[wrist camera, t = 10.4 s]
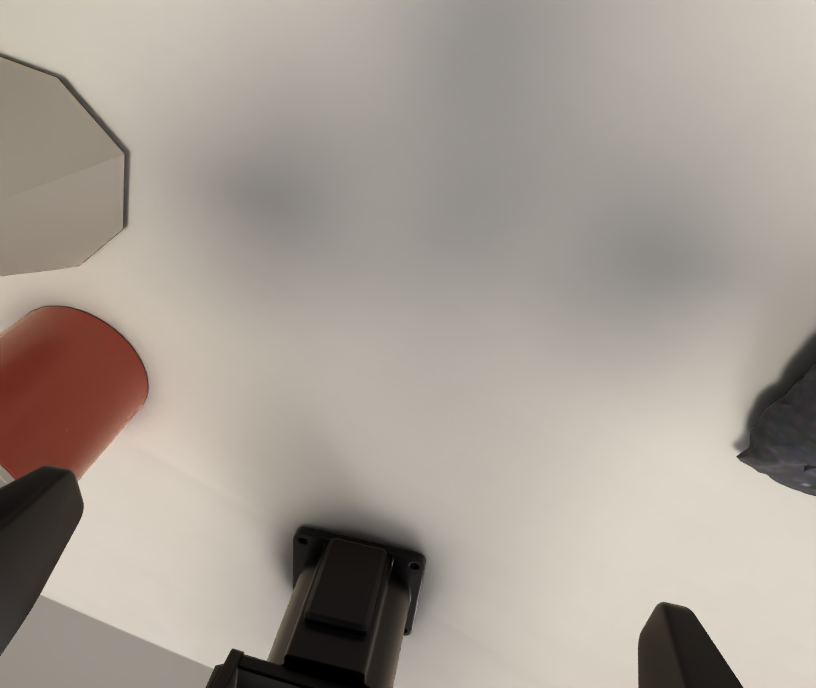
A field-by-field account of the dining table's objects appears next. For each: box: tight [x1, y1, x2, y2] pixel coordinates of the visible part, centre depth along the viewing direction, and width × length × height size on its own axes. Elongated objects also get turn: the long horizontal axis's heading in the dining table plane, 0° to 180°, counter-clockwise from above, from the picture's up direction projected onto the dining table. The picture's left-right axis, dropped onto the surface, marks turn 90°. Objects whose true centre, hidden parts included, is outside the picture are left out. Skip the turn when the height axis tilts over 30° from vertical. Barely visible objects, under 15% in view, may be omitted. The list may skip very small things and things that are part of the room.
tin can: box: [0, 306, 148, 488], centre depth 23 cm, size 6×6×8 cm
